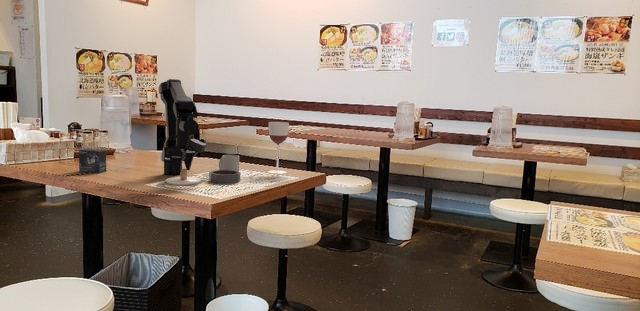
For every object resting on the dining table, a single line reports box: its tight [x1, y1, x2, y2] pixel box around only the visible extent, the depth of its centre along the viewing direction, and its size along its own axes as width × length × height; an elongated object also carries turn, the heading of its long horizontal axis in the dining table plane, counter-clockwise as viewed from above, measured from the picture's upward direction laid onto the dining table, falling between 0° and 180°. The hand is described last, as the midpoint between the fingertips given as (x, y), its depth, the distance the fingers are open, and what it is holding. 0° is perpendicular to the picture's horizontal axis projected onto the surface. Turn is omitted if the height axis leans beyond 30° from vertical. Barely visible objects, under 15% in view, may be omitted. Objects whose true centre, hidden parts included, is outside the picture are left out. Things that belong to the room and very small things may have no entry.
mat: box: [159, 179, 208, 188], centre depth 191 cm, size 14×14×1 cm
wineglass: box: [267, 121, 290, 175], centre depth 226 cm, size 9×10×23 cm
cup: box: [218, 154, 240, 172], centre depth 211 cm, size 7×10×9 cm
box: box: [78, 148, 107, 174], centre depth 207 cm, size 9×6×10 cm, turn 81°
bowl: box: [208, 169, 241, 185], centre depth 197 cm, size 12×12×4 cm
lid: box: [165, 168, 202, 186], centre depth 191 cm, size 13×13×5 cm
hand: (183, 172), depth 191 cm, fingers open, 9 cm apart
